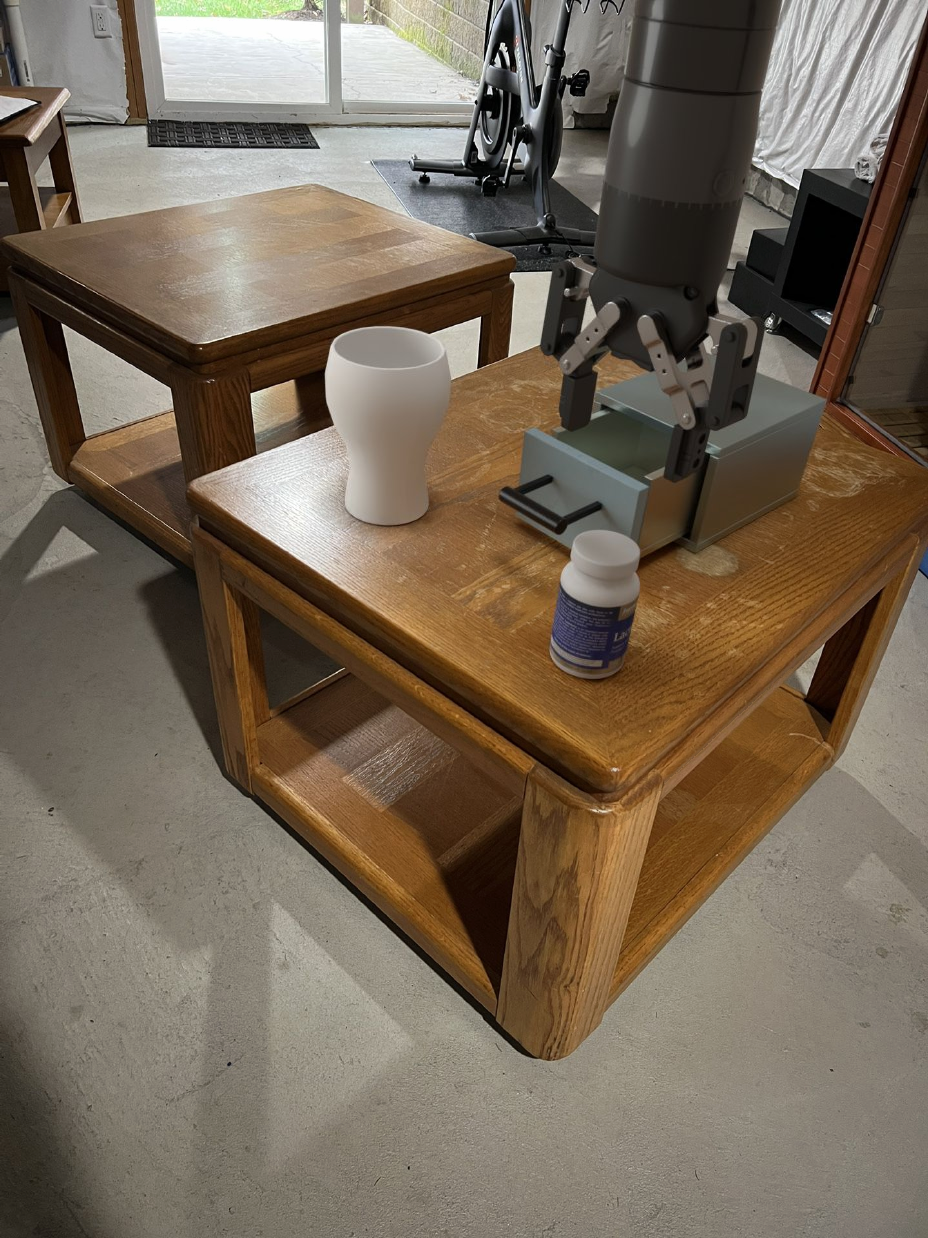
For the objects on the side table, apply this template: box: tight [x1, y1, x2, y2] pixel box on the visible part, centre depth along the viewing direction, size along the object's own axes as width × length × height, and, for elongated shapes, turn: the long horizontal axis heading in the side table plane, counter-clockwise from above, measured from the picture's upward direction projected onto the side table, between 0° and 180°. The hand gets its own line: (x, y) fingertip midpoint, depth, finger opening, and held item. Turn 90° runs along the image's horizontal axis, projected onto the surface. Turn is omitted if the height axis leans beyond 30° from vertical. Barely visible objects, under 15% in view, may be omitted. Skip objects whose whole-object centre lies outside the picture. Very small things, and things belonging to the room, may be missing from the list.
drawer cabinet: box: [592, 352, 828, 554], centre depth 88 cm, size 17×14×10 cm
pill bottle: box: [549, 530, 641, 680], centre depth 67 cm, size 6×6×10 cm
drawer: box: [498, 407, 711, 560], centre depth 81 cm, size 21×13×8 cm, turn 132°
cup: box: [324, 325, 452, 526], centre depth 82 cm, size 11×11×15 cm
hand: (623, 451), depth 60 cm, fingers open, 8 cm apart
